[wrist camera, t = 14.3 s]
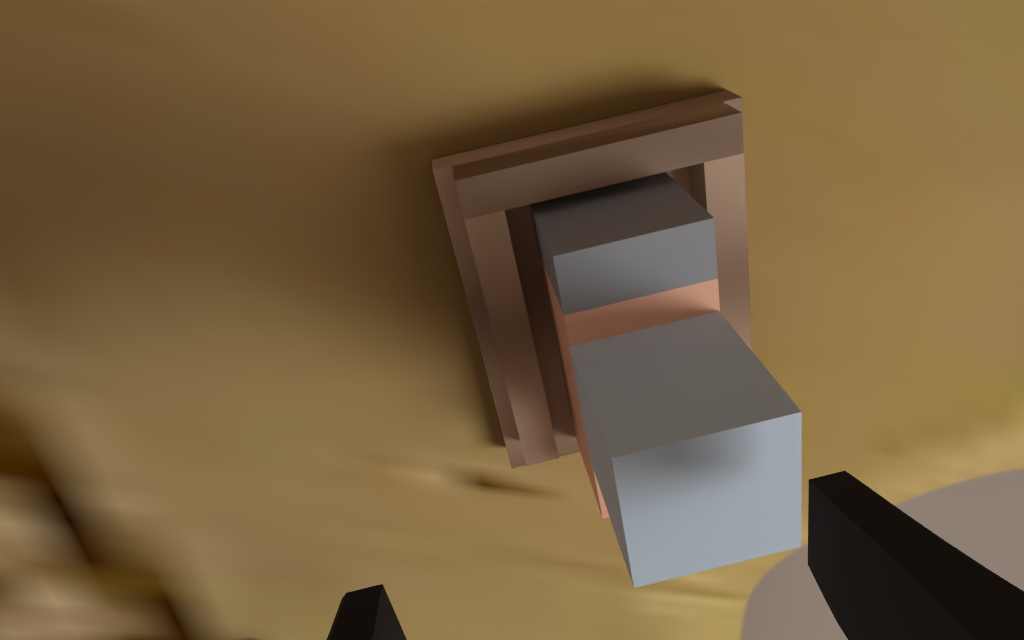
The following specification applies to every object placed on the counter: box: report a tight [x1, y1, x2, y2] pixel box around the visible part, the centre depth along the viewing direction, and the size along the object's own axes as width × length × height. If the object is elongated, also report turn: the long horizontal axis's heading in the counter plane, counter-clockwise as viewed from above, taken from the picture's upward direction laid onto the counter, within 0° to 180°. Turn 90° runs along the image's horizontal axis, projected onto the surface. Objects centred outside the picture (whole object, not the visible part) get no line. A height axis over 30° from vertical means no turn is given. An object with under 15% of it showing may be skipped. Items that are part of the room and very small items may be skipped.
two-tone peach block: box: [529, 172, 720, 519], centre depth 19 cm, size 8×4×4 cm, turn 12°
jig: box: [432, 90, 752, 468], centre depth 20 cm, size 10×8×2 cm
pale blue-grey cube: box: [569, 311, 802, 588], centre depth 16 cm, size 4×4×4 cm
